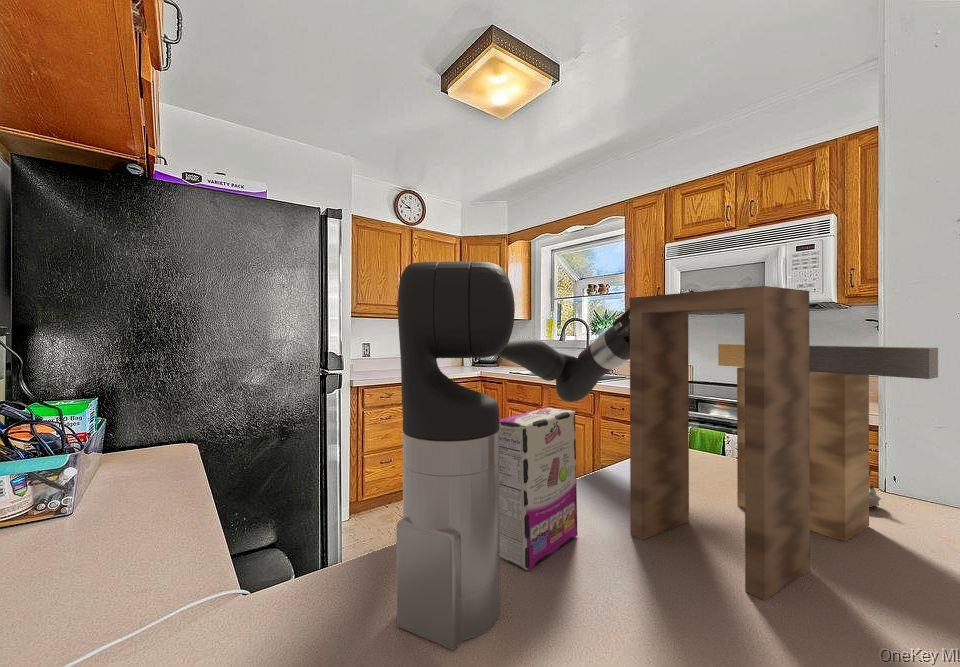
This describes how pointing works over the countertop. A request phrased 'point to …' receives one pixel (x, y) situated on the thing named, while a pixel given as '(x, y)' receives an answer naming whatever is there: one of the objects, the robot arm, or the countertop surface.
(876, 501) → the figurine
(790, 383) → the walnut bridge
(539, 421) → the candy bar box
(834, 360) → the grey and wood bar
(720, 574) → the countertop surface
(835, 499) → the oak block
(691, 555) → the countertop surface
